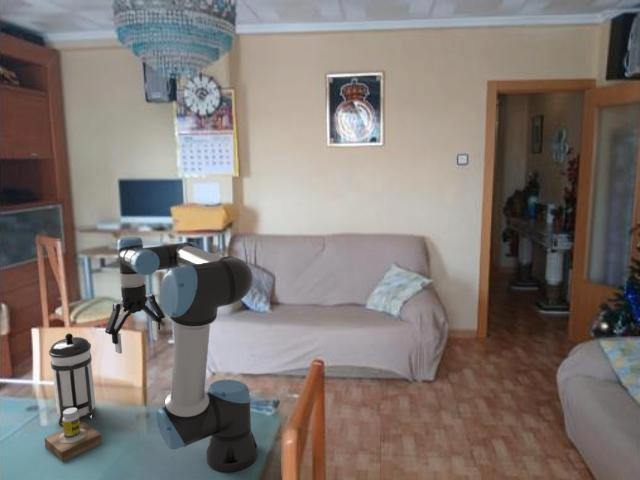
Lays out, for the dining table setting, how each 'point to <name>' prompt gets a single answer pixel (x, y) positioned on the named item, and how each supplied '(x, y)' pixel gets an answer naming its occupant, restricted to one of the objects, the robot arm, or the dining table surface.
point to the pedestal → (72, 442)
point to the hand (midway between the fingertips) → (138, 346)
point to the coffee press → (73, 376)
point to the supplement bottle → (71, 423)
